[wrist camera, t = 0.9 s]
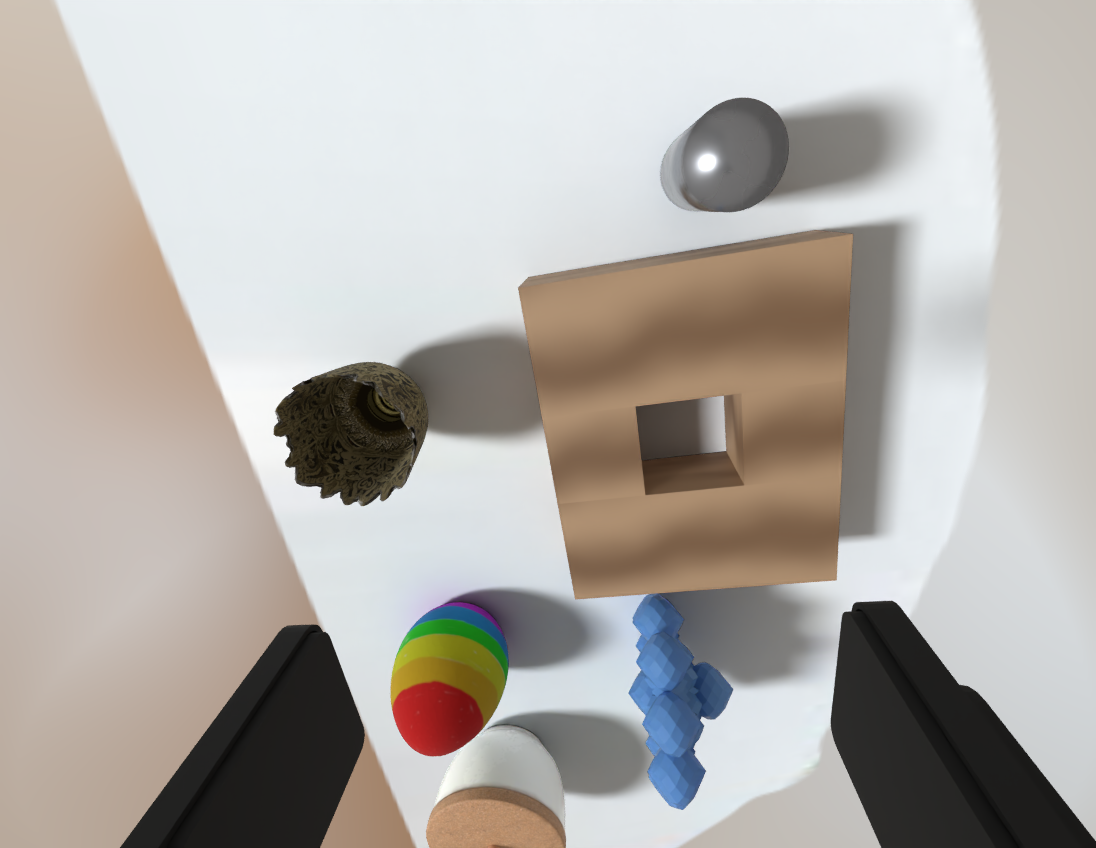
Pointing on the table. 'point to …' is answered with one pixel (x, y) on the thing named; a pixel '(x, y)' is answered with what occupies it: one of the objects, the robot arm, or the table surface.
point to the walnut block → (692, 373)
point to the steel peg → (726, 158)
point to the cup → (354, 431)
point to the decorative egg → (448, 678)
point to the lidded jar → (500, 795)
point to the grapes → (673, 700)
